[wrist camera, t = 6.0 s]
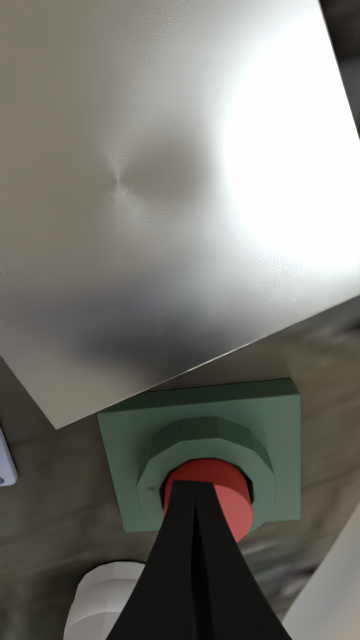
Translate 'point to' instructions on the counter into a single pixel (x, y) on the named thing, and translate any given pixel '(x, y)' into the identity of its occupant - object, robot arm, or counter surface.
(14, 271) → the canister lid
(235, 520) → the timer button
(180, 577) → the robot arm
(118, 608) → the bottle
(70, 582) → the counter surface
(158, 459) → the green base
